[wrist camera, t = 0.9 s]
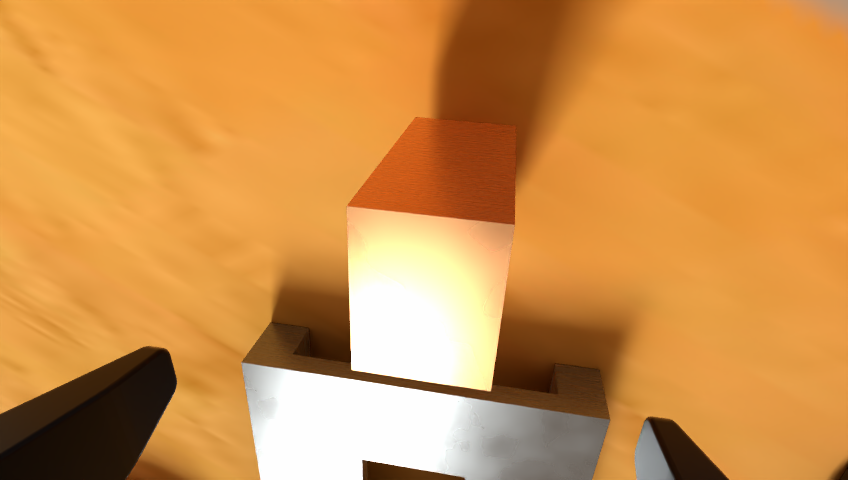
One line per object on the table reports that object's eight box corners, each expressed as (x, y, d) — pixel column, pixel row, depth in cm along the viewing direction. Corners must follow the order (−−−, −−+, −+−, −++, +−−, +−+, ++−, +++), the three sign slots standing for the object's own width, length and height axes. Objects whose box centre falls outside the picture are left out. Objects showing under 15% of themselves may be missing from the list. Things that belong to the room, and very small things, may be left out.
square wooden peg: (516, 115, 18) (514, 225, 10) (502, 225, 20) (491, 391, 12) (422, 107, 19) (346, 206, 10) (418, 215, 21) (351, 369, 12)
